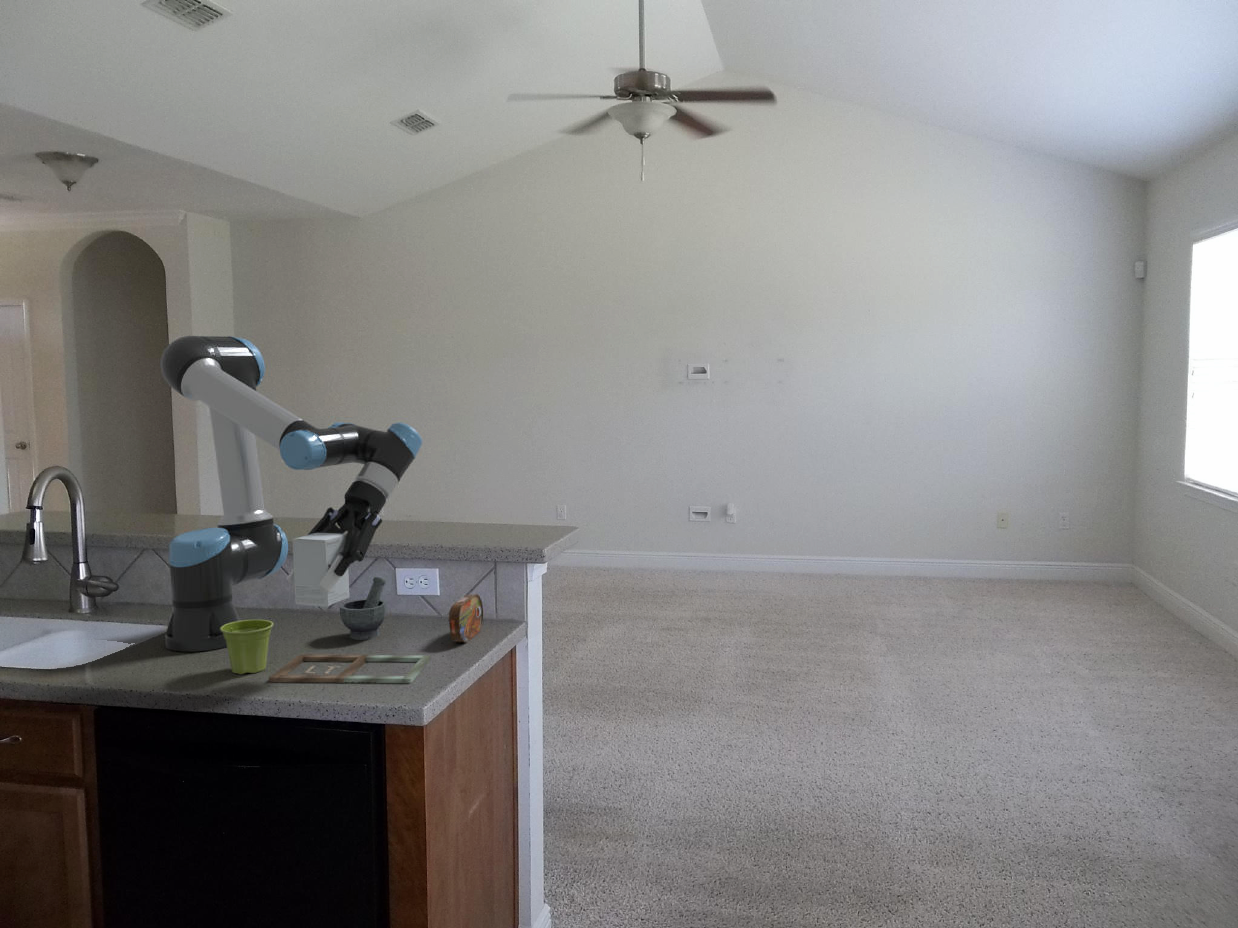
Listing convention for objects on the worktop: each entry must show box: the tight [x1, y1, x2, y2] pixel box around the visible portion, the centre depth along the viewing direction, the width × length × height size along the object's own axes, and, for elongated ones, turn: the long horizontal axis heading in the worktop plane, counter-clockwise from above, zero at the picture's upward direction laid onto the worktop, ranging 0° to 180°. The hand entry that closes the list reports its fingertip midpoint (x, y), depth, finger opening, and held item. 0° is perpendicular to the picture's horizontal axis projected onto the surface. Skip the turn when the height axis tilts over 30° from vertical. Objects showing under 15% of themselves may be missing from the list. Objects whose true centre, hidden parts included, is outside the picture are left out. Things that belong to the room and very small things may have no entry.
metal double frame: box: [268, 654, 432, 684], centre depth 181 cm, size 26×14×1 cm, turn 86°
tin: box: [448, 593, 484, 644], centre depth 203 cm, size 15×3×8 cm, turn 170°
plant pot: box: [220, 619, 274, 675], centre depth 182 cm, size 9×9×9 cm
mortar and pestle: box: [339, 576, 388, 641], centre depth 205 cm, size 11×9×12 cm
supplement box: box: [291, 533, 350, 608], centre depth 180 cm, size 7×7×13 cm
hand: (307, 585), depth 177 cm, fingers closed on supplement box, 9 cm apart
